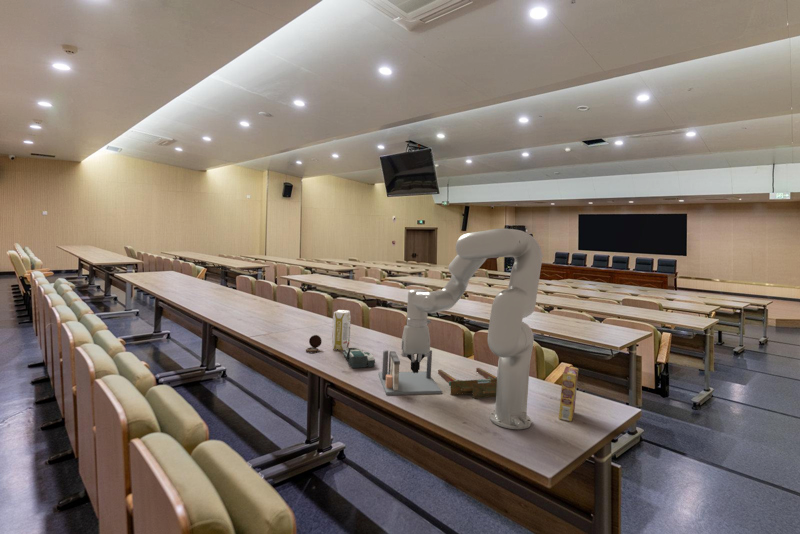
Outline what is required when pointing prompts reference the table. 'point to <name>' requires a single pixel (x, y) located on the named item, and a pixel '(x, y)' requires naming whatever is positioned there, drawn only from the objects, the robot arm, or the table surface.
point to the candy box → (568, 393)
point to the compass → (314, 343)
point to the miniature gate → (472, 385)
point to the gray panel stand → (409, 380)
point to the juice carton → (341, 329)
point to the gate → (394, 369)
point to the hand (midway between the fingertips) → (415, 371)
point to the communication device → (359, 358)
